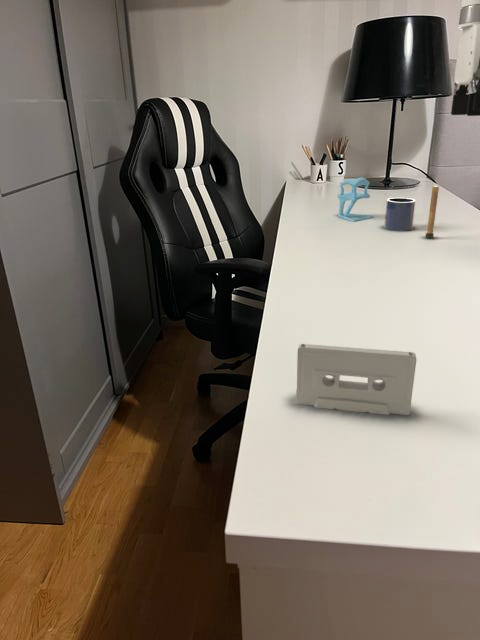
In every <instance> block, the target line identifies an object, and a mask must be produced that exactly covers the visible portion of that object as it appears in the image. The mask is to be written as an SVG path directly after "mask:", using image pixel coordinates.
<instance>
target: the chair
mask: <svg viewBox="0 0 480 640" xmlns="http://www.w3.org/2000/svg"><path fill="white" fill-rule="evenodd" d="M345 185H349V186H351V191H349V192H347V193H345V189H344V186H345ZM360 186H365V187H364V189H363V193H359V192H357V188H358V187H360ZM369 186H370V181H369V180H368V179H366V178H365V177H358V178H356V179H351V178H348V179H346V180H344V181H342V182H339V187H340V193H339V194H337V198H338V201H339V208H338V215H337V216H338V217H339V218H341V219H345V220H347V221H350V222H359V221H363V220H369V219H372V216H371V215H364V214H354V213H350V212H351V211H352V209H353V207H354V205H355V204H356V203H357V201H358V200H362V199H370V198H371V194H370V193H368V189H369ZM348 201H350V203H349V204H348V206H347V209H346V210H345V212H344V208H345V203H346V202H348ZM351 217H355V218H351Z"/></svg>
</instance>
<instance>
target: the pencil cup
mask: <svg viewBox="0 0 480 640" xmlns="http://www.w3.org/2000/svg"><path fill="white" fill-rule="evenodd" d="M415 210H416V199H414V198H409V197H390V198H387V199H386V203H385V214H384V226H383V228H384V229H385V230H387V231H391V232H392V231H393V232H409V231H412V230H413V228H414V219H415Z"/></svg>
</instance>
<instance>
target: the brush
mask: <svg viewBox="0 0 480 640" xmlns="http://www.w3.org/2000/svg"><path fill="white" fill-rule="evenodd" d="M439 189H440V186H439V185H432V187H431V197H430V204H429V213H428V219H427V220H428V221H427V226H426V227H427V228H426V232H425V237H424V238H425V239H427V240H434V235H435V233H434V229H435V220H436V214H437V213H436V212H437V207H438V196H439Z"/></svg>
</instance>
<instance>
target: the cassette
mask: <svg viewBox="0 0 480 640" xmlns="http://www.w3.org/2000/svg"><path fill="white" fill-rule="evenodd" d="M296 356H297V357H296V359H297V360H296V363H297V364H296V391H295V404H297V405H307V406H314V408H318V409H326V410H334V409H336V410H339V411H346V412H357V413H369V414H375V415H376V414H379V415H385V416H387V415H388V416H389V415H390V414H393V415H402V416H403V415H404V416H410V414H411V407H412V398H413V390H414V382H415V374H416V367H417V355H416V353H415V352H413V351H402V350H401V351H400V350H388V349H376V348H375V349H374V348H364V347H363V348H361V347H349V346H337V345H325V344H323V345H321V344H311V343H299V345H298V346H297V355H296ZM327 376H330V377H327ZM341 376H345V377H355V378H367V382H364V381H352V380H341ZM377 381H379V382H377ZM380 381H381V382H380Z"/></svg>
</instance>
